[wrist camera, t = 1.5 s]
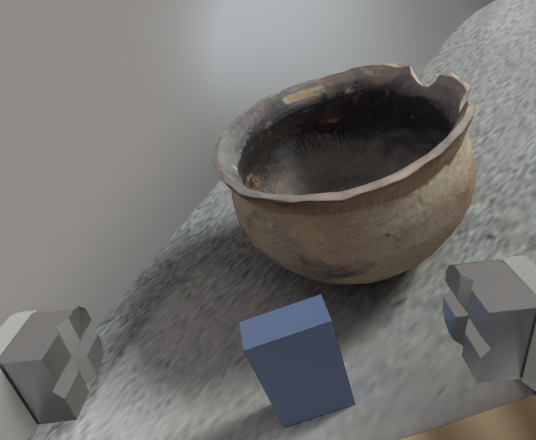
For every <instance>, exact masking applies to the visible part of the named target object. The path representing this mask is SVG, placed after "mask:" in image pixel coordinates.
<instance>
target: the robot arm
mask: <svg viewBox="0 0 536 440" xmlns="http://www.w3.org/2000/svg"><path fill="white" fill-rule="evenodd" d="M445 281H446V283H447V284H448V286H449V288H450V290H449V291H448V293H447V294H446V295H445V296H444V300H443V312H444V318H445V323H446V325H447V328H448V331H449V333H450V335H451V336H452V338H453V340H455V341H456V342H458V343H460V344H461V345H463V354H462V356H463V358H464V360H465V362H466V363H467V365H468V367H469V369H470V370H471V372H472V374H473V376H474V377H475V379H476V381H477V382H486V381H501V380H516V379H522V382H523V383H525V384H526V385H527V386H529V387H530V388H531V389H533V390H534V391H536V265H535V264H534V263H533V262H532V261H531V260H530V259H529V258H527V257H524V256H522V255H521V256H514V257H506V258H499V259H496V260H489V261H481V262H472V263H464V264H455V265H449V266H448V268H447V270H446V278H445ZM90 321H91V318H90V316H89V314H88V312H87V310H86V309H85V308H83V307H80V306H77V307H67V308H56V309H45V310H38V311H26V312H18V313H15V314H13V315H11V316H10V317H9V318H8V319H7V321H6V322H5V323H4V324H3V325H2V327H1V328H0V440H26V439H27V438H28V437H29V436H30V435H31V434H32V433H33V431H34V430H35V429H36V428H37V427H38V424H46V423H54V422H62V421H70V420H77V418H78V416H79V414H80V411H81V409H82V407H83V405H84V403H85V401H86V398H87V396H88V394H89V391H88V388H87V384H88V383H89V382H90V381H91V380H92V379H94V378H95V377H96V376H97V374H98V372H99V370H100V367H101V365H102V357H103V348H102V342H101V340H100V338H99V335H98V334H97V333H96V332H94V331H93V330H91V329H90V328H88V327H89V324H90Z"/></svg>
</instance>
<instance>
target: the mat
mask: <svg viewBox="0 0 536 440" xmlns="http://www.w3.org/2000/svg"><path fill="white" fill-rule="evenodd" d="M401 440H536V396H535V395H532V396H529V397H526V398H523V399H520V400H517V401H514V402H511V403H509V404H506V405H503V406H500V407H497V408H494V409H491V410H488V411H485V412H482V413H479V414H476V415H473V416H470V417H467V418H464V419H461V420H458V421H455V422H452V423H449V424H446V425H443V426H440V427H437V428H434V429H431V430H428V431H425V432H422V433H419V434H416V435H413V436H410V437H407V438H404V439H401Z"/></svg>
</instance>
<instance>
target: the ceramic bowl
mask: <svg viewBox="0 0 536 440" xmlns="http://www.w3.org/2000/svg"><path fill="white" fill-rule="evenodd" d="M470 90H471V87H470V86H469V85H468V84H467V83H466V82H464V81H462V80H460V79H459V78H458V77H457V76H456V75H454V74H453V73H451V72H450V73H445V74H440V75H439V77H438V78H437V80H436V81H435V82H434V83H433V84H432V85H430V86H429V87H425V86H423V85H422V84H421V83H420V81H419V80H418V78H417V77H416V75H415V73H414V71H413V70H412V68H411V66H410V65H408V64H407V65H406V64H391V63H386V64H377V65H369V66H362V67H356V68H352V69H350V70H348V71H345V72H342V73H337V74H333V75H329V76H326V77H323V78H320V79H315V80H310V81H307V82H304V83H301V84H298V85H295V86H292V87H290V88H287V89H285V90H283V91H280V92H278V93H275V94H272V95H270V96H268V97H266V98H263V99H261V100H260V101H258V102H257V103H256V104H254V105H253V106H252V107H250V108H249V109H247V110H246V111H244V112H243V113H242V114H241V115H240V116H238V117H237V118H236V119H235V120H234V121H233V122H232V124H231V125H230V126H229V127H228V128H227V129H226V130H225V131H224V132H223V134H222V136H221V138H220V140H219V141H218V143H217V145H216V148H215V151H214V157H213V163H214V166H215V168H216V171H217V174H218V175H219V177H220V178H221V179H222V180H223V182H224V183H225V184H226V185H227V186H228V187H229V188H230V189H231V190H232V199H233V203H234V207H235V210H236V215H237V218H238V221H239V223H240V225H241V227H242V228H243V230H244V232H245V233H246V235H247V237H248V238H249V240H250V241H251V242H252V244H253V245H254V246H255V247H256V248H257V249H258V250H259V251H260V252H261V253H262V254H263V255H264V256H265V257H266V258H267V259H269V260H270V261H272V262H273V263H275V264H277V265H279V266H280V267H282V268H284V269H286V270H288V271H290V272H293V273H295V274H298V275H301V276H303V277H306V278H308V279H310V280H314V281H319V282H324V283H329V284H367V283H372V282H377V281H381V280H384V279H388V278H390V277H393V276H395V275H398V274H400V273H403V272H405V271H407V270H410V269H412V268H414V267H415V266H417V265H418V264H419V263H421V262H422V261H424V260H425V259H427V258H428V257H429V256H431V255H432V254H433V253H434V252H435V251H436V250H437V249H438V248H439V247H440V246H441V245H442V244H443V243H444V242H445V240H446V239H447V238H448V237H449V236H450V235H451V234H452V233H453V232H454V230H455V229H456V228H457V226H458V225H459V224H460V223H461V221H462V219H463V217H464V215H465V213H466V211H467V209H468V207H469V205H470V203H471V199H472V195H473V191H474V185H475V165H474V157H473V151H472V145H471V141H470V137H469V135H468V132H467V130H468V127H469V125H470V123H471V121H472V119H473V117H474V112H475V106H474V104H473V103H472V102H469V101H467V100H468V95H469V93H470Z"/></svg>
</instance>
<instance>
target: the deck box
mask: <svg viewBox="0 0 536 440" xmlns="http://www.w3.org/2000/svg"><path fill="white" fill-rule="evenodd" d="M239 326H240V332H241V338H242V344H243V351H244V353H245V354H246V356H247V358H248V360H249V362H250V364H251V366H252V368H253V369H254V371H255V373H256V375H257V377H258V379H259V381H260V383H261V385H262V386H263V388H264V390H265V392H266V394H267V396H268V398H269V400H270V402H271V403H272V405H273V407H274V409H275V411H276V413H277V415H278V417H279V419H280V420H281V422H282V424H283V426H284V428H286V427H288V426H291V425H294V424H297V423H300V422H303V421H306V420H309V419H312V418H315V417H318V416H321V415H324V414H327V413H330V412H333V411H336V410H339V409H342V408H345V407H348V406H351V405H354V404H355V402H354V398H353V395H352V391H351V388H350V384H349V380H348V377H347V373H346V370H345V366H344V362H343V359H342V355H341V352H340V348H339V345H338V341H337V337H336V334H335V330H334V327H333V323H332V320H331V317H330V315H329V313H328V310H327V308H326V305H325V303H324V300H323V298H322V295H321V294H320V295H317V296H314V297H311V298H308V299H305V300H302V301H299V302H296V303H294V304H291V305H288V306H285V307H282V308H279V309H276V310H273V311H270V312H267V313H264V314H261V315H258V316H255V317H252V318H249V319H246V320H243V321H240V322H239Z"/></svg>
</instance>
